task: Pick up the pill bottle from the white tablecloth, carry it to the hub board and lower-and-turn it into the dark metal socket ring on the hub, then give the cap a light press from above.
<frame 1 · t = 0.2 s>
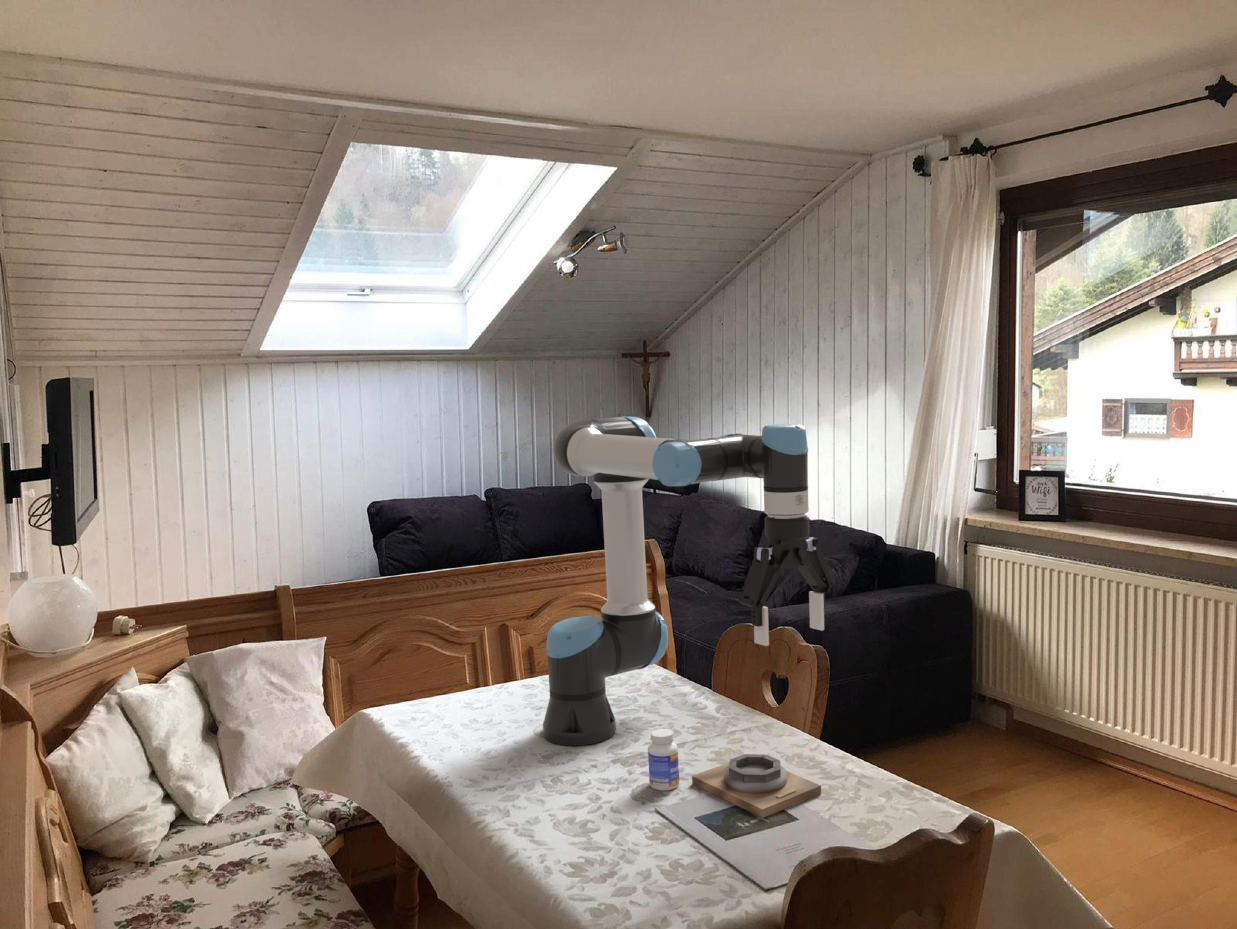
hand: (790, 636, 171), 27 cm above the table, fingers open, 13 cm apart
hub board: (755, 788, 174), on the table
pill bottle: (664, 786, 178), on the table
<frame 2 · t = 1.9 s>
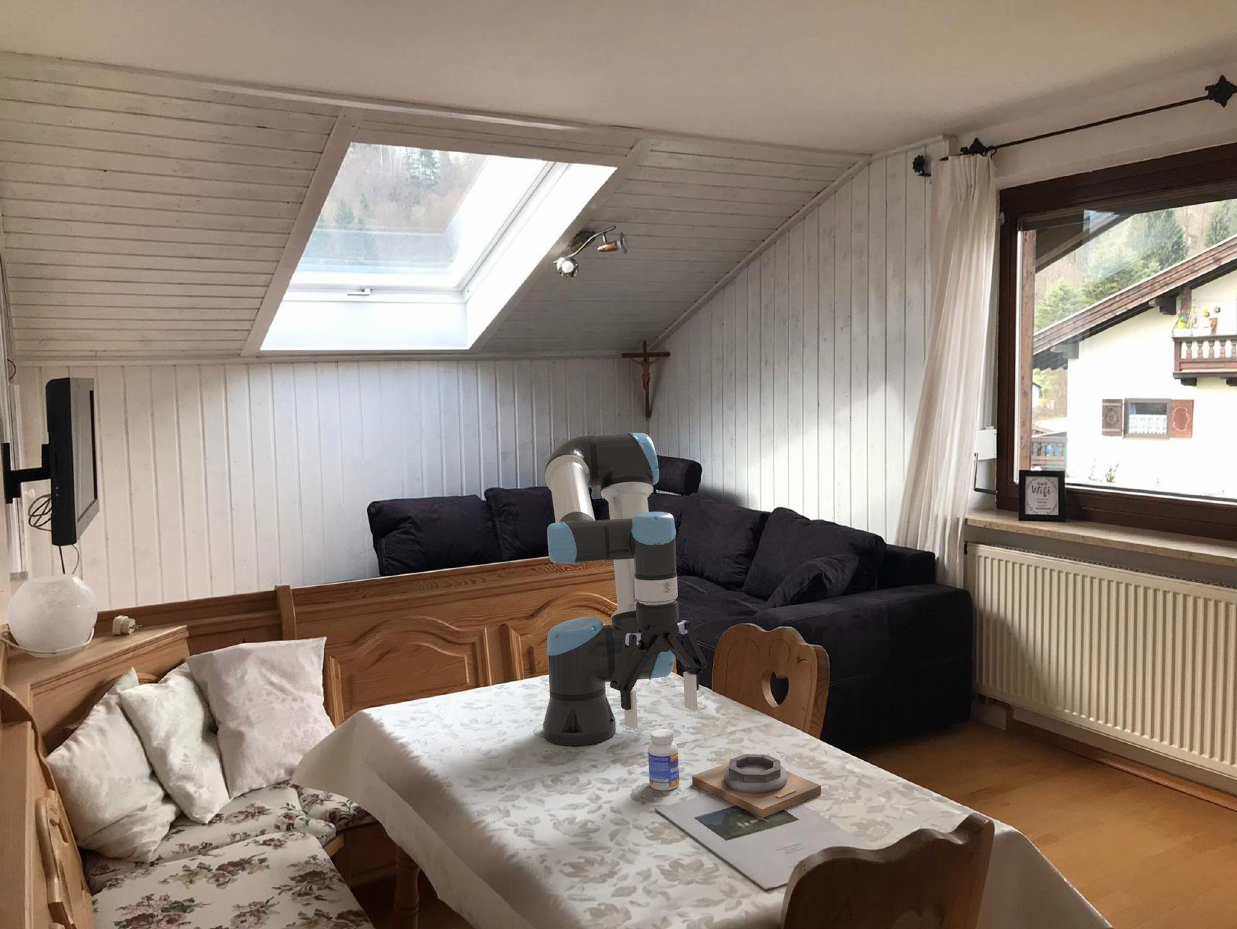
hand: (661, 717, 176), 13 cm above the table, fingers open, 13 cm apart
nothing on the table moved.
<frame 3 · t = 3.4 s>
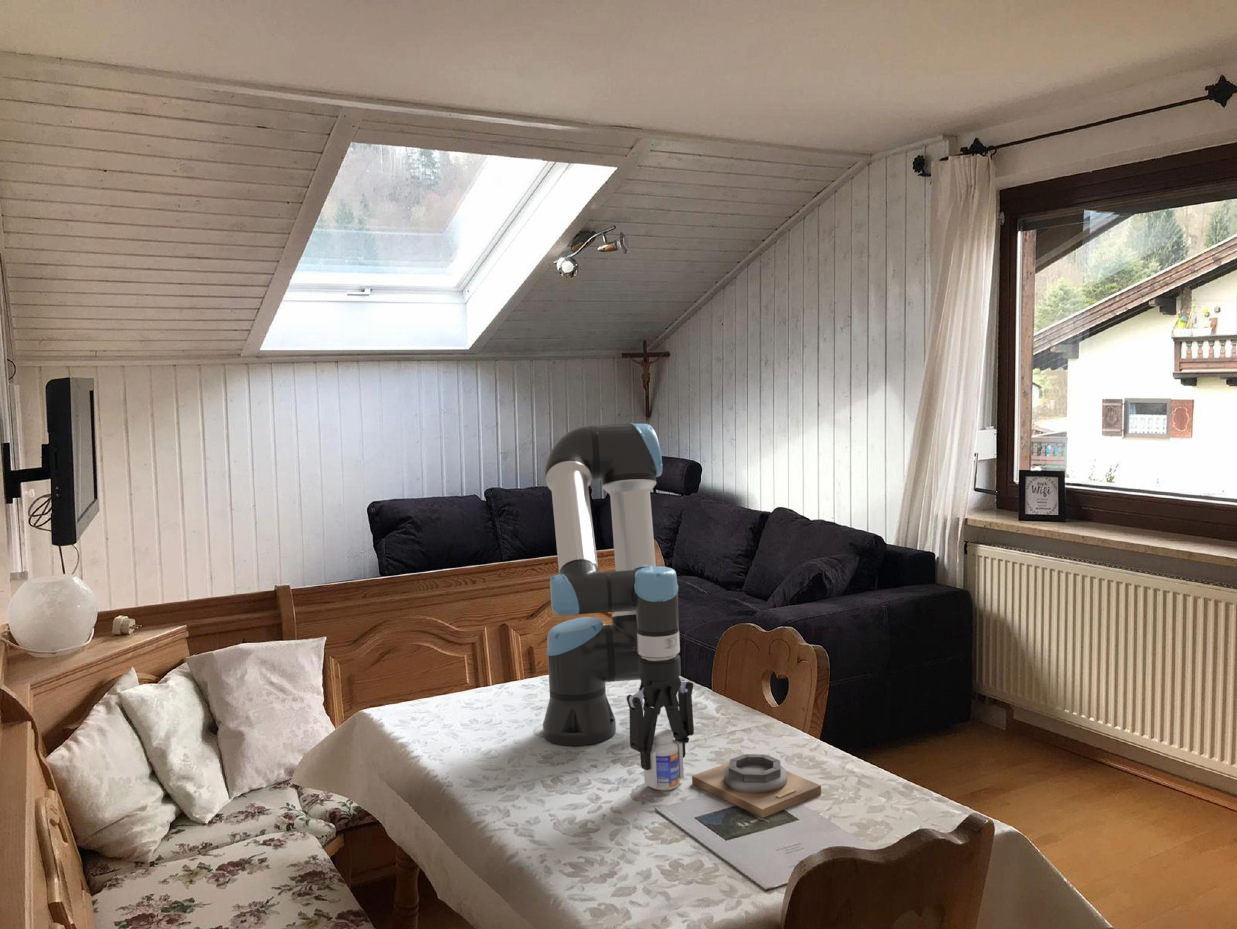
hand: (664, 780, 178), 1 cm above the table, fingers closed on pill bottle, 5 cm apart
pill bottle: (664, 786, 178), on the table, touching gripper
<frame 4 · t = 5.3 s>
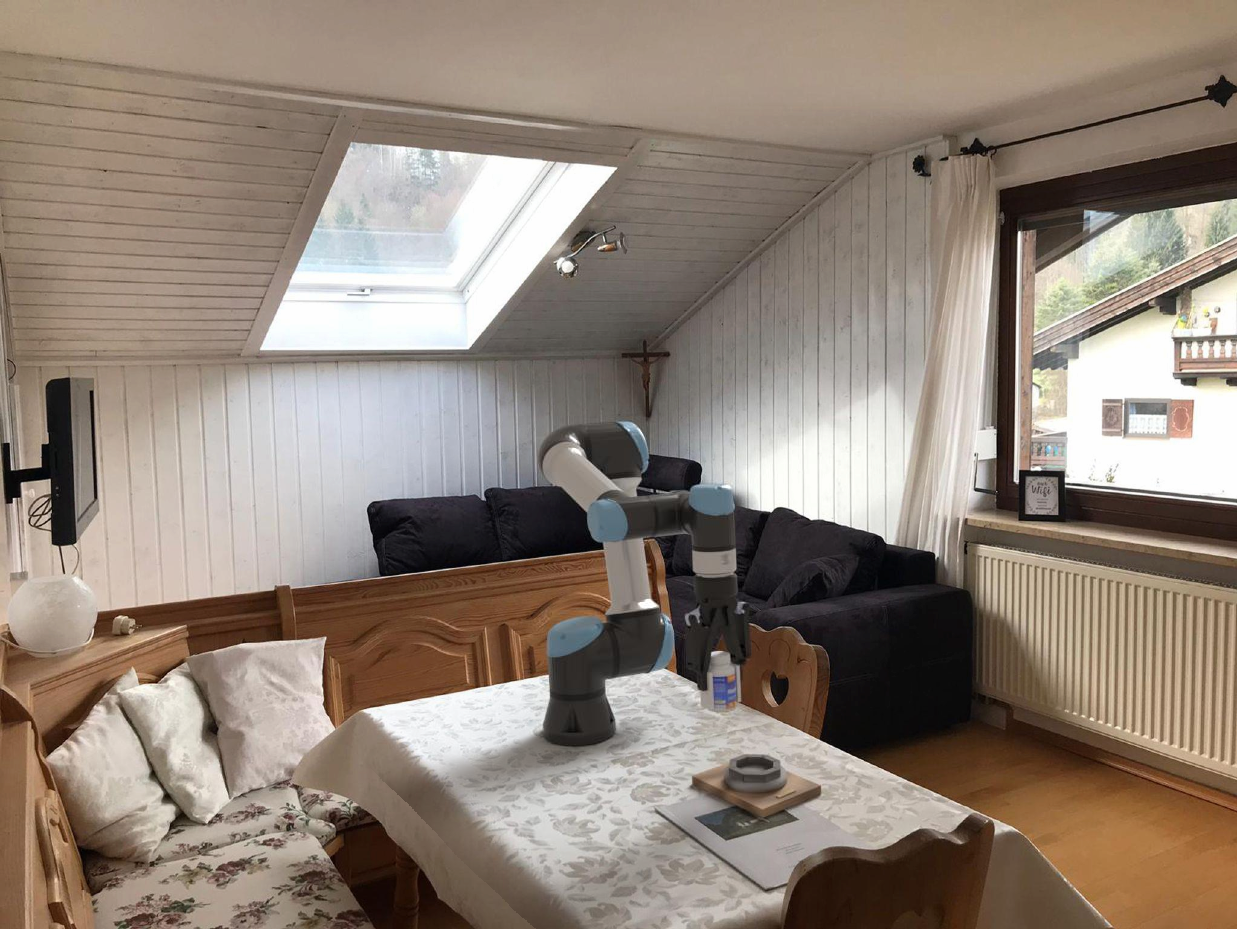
hand: (721, 703, 173), 16 cm above the table, fingers closed on pill bottle, 5 cm apart
pill bottle: (721, 709, 173), point 15 cm above the table, touching gripper
when the fingers open (5 cm above the table, at t = 7.1 s): pill bottle drops 2 cm, resting on hub board.
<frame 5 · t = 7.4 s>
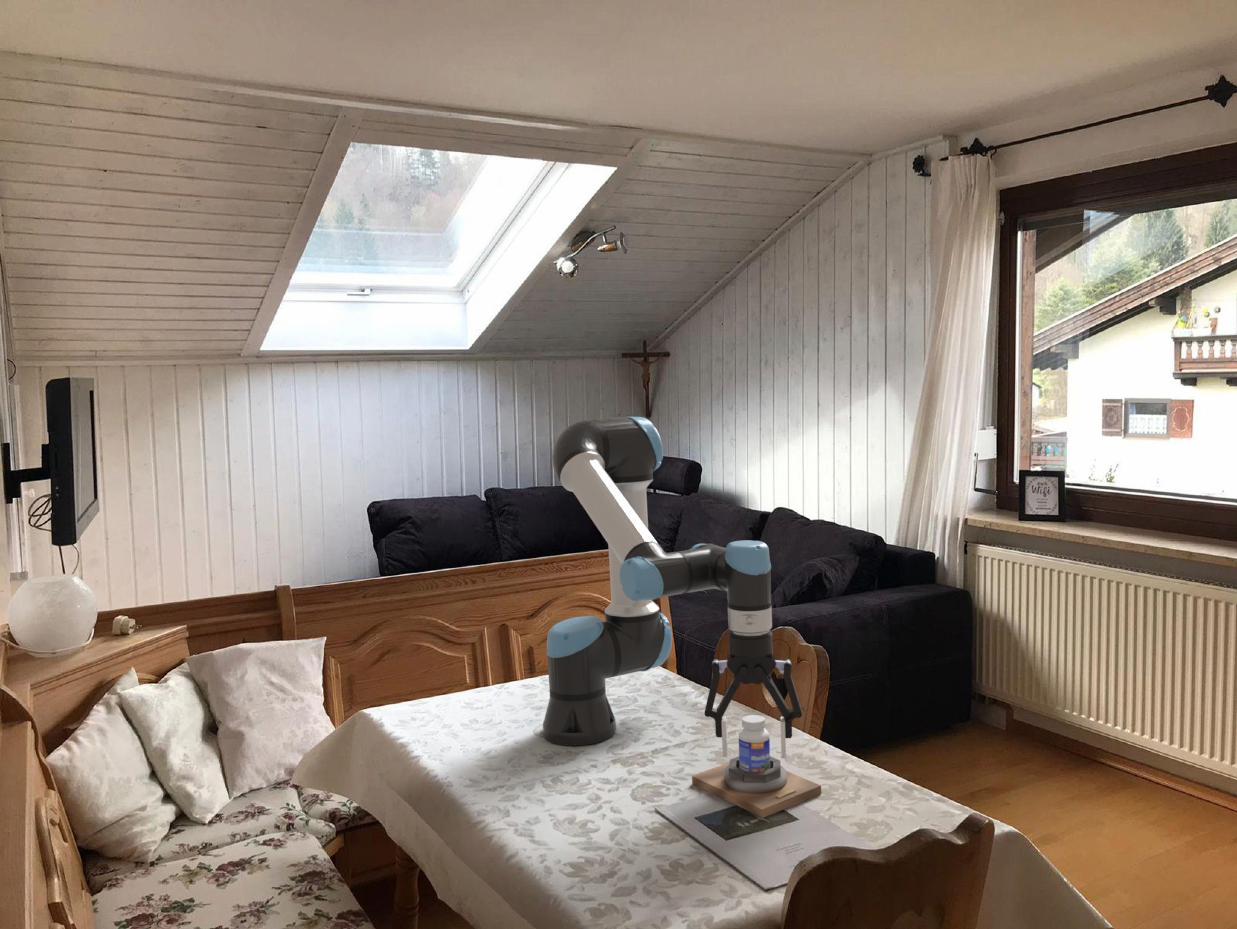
hand: (754, 754, 174), 6 cm above the table, fingers open, 9 cm apart
pill bottle: (755, 773, 174), point 3 cm above the table, touching hub board
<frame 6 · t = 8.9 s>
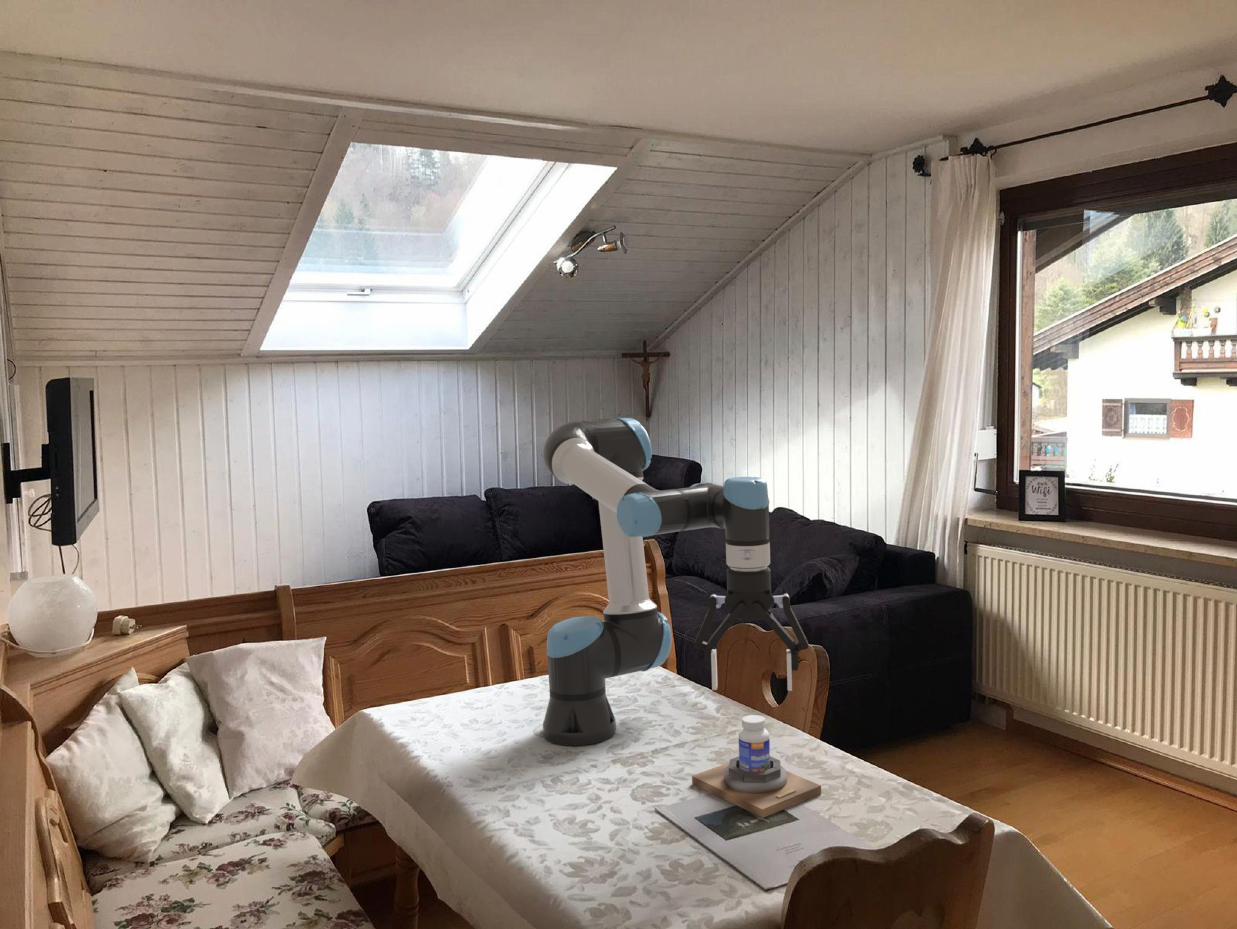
hand: (752, 688, 173), 18 cm above the table, fingers open, 12 cm apart
nothing on the table moved.
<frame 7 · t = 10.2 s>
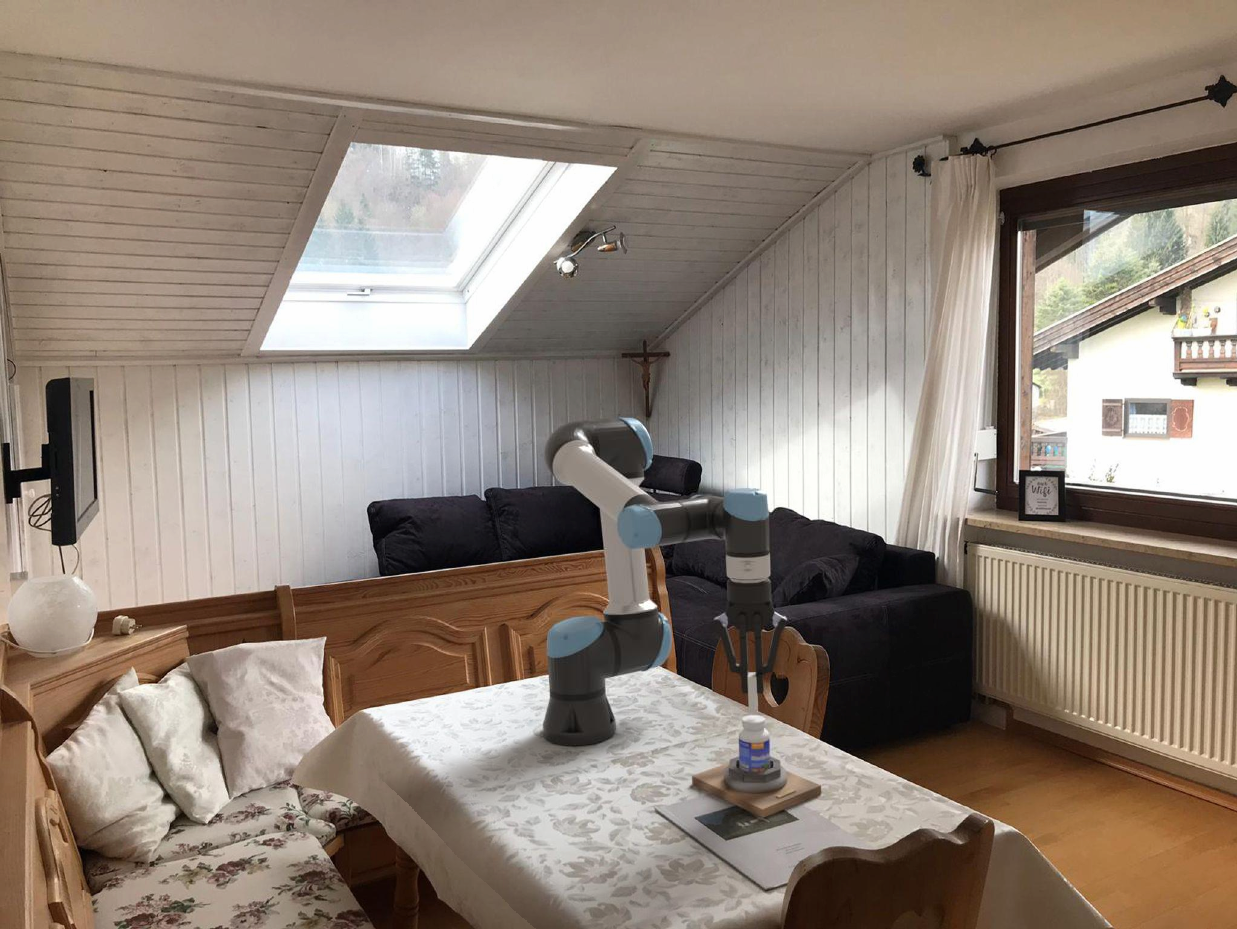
hand: (753, 710, 173), 14 cm above the table, fingers closed
nothing on the table moved.
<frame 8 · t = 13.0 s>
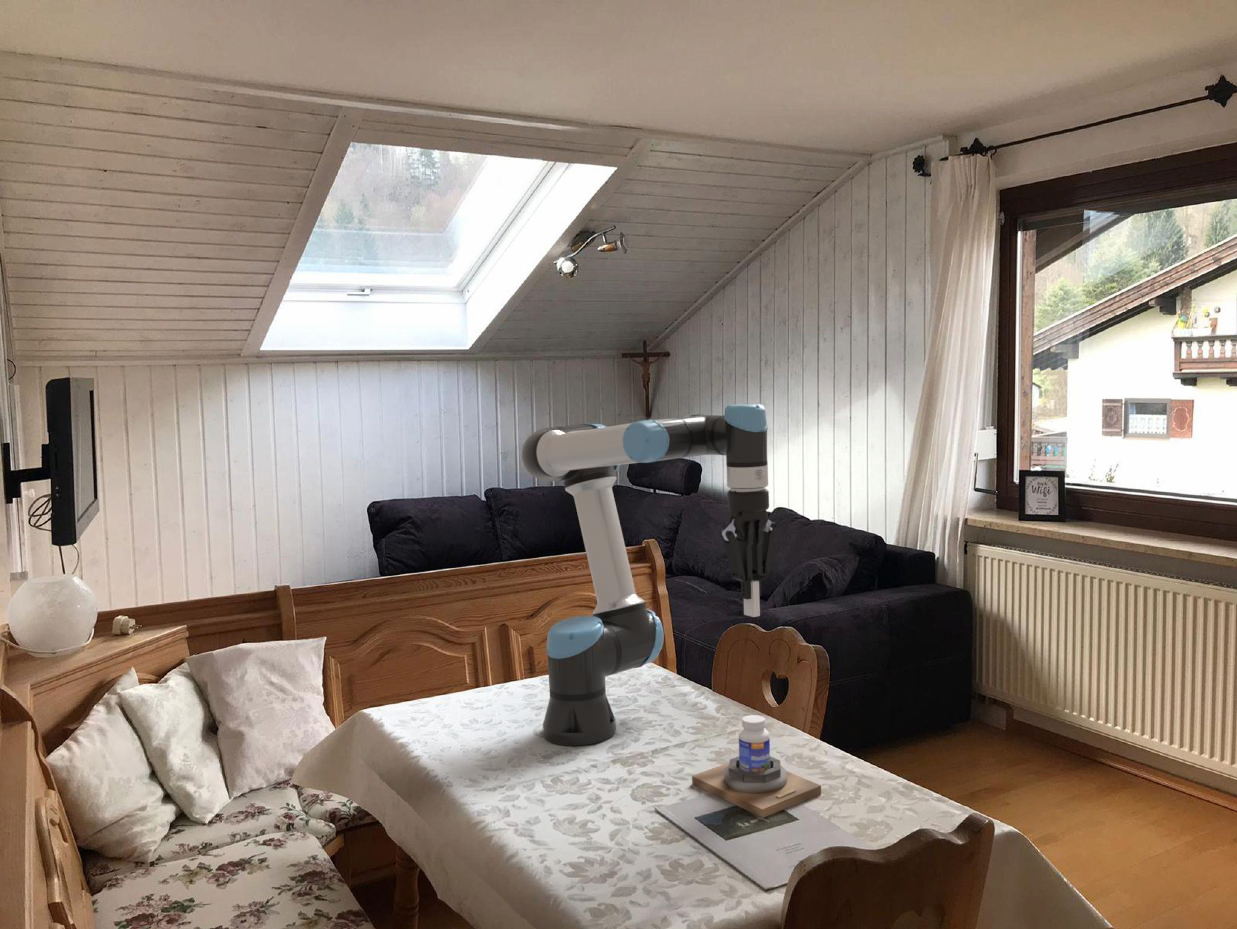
hand: (752, 615, 183), 28 cm above the table, fingers closed
nothing on the table moved.
at the end: pill bottle 0.0 cm off-centre on the hub board, point 2.8 cm above the hub board's base; pill bottle tilted 0°; the gripper is holding nothing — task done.
